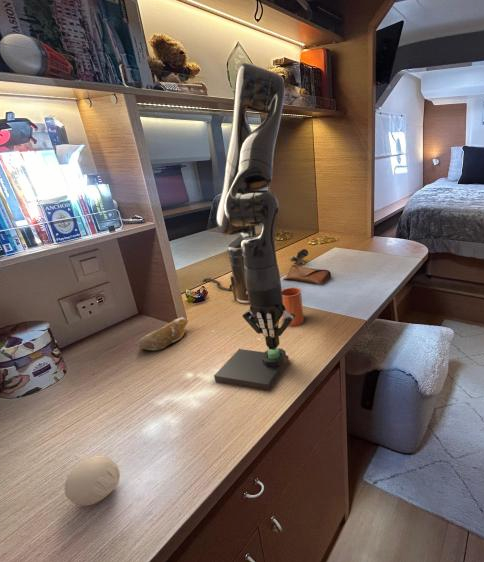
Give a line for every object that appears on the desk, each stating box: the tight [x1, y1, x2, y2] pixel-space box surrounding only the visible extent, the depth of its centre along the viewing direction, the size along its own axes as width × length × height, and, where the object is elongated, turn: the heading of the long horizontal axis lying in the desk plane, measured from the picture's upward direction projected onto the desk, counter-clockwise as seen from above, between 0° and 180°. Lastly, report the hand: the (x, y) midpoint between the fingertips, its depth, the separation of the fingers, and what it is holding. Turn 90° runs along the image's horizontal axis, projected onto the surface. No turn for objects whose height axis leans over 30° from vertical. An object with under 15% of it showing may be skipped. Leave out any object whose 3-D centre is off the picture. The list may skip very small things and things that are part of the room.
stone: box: [135, 316, 189, 351], centre depth 96 cm, size 7×6×15 cm
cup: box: [282, 287, 305, 327], centre depth 103 cm, size 6×6×10 cm
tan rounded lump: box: [64, 455, 121, 507], centre depth 54 cm, size 7×7×7 cm
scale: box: [213, 347, 290, 392], centre depth 82 cm, size 14×11×4 cm
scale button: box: [267, 347, 280, 359], centre depth 83 cm, size 3×3×2 cm
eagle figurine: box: [289, 248, 309, 267], centre depth 150 cm, size 8×7×9 cm
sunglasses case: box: [283, 264, 332, 286], centre depth 135 cm, size 18×7×7 cm, turn 66°
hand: (273, 347), depth 82 cm, fingers closed
